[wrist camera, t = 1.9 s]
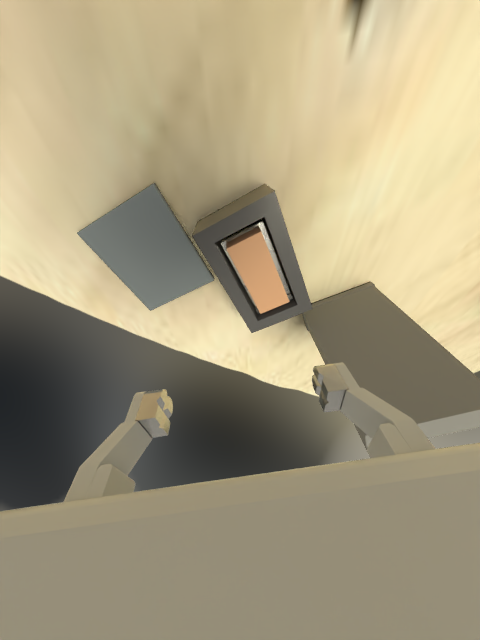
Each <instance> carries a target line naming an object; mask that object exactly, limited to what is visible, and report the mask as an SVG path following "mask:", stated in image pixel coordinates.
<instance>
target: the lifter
mask: <svg viewBox="0 0 480 640" xmlns="http://www.w3.org/2000/svg"><path fill="white" fill-rule="evenodd" d="M258 226H259V227H260V230H261V232H262V234H263V237H264V239H265V242H266V244H267V247H268V249H269V252H270V254H271V257H272V259H273V262H274V264H275V267H276V269H277V272H278V274H279V277H280V279H281V282H282V284H283V287H284V289H285V292H286V294H288V295H287V297H288V299H289V300H291V299H293V298H292V296H291V294H289V293H290V291H289V288H288V286H287V283H286V281H285V278H284V275H283V273H282V270H281V268H280V265H279V262H278V260H277V257H276V255H275V252H274V249H273V247H272V244H271V242H270V239H269V236H268V234H267V231H266V229H265V226H264V223H263V221H262V220H261V221H259V222H257V223H255V224H253V225H251V226H249V227H247V228H245V229H244V230H242V231H240V232H238V233H236V234H234V235H232V236H230V237H228V238H226V239H224V240H222V241H221V245H222V247H223V249H224V250H225V252H226V254H227V256H228V258H229V260H230V261H231V263H232V265H233V267H234V269H235V271H236V273H237V274H238V276H239V278H240V280H241V282H242V284H243V286H244V287H245V289H246V291H247V293H248V295H249V297H250V299H251V300H252V302H253V304H254V306H255V308H256V307H257V306H256V304H255V302H254V300H253V299H252V297H251V295H250V293H249V291H248V289H247V287H246V285H245V284H244V282H243V280H242V278H241V276H240V274H239V272H238V270H237V269H236V267H235V265H234V263H233V261H232V259H231V257H230V255H229V253H228V252H227V250H226V243H227V242H229V241H231V240H233V239H235V238H237V237H239V236H240V235H242V234H244V233H246V232H248V231H250V230H252V229H254V228H256V227H258ZM256 312H257V313H260V312H259V310H258V308H256Z"/></svg>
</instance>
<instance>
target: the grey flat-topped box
mask: <svg viewBox="0 0 480 640" xmlns="http://www.w3.org/2000/svg"><path fill="white" fill-rule="evenodd" d="M311 305H312V308H313V309H312V310H309V311H307V312H304V313H302V315H303V318H304V321H305V324H306V328H307V330H308V331H309V332H310V334H311V336H312V338H313V340H314V342H315V344H316V346H317V348H318V350H319V352H320V354H321V356H322V359H323V361H324V363H325V365H326V364H334V363H341V362H343V363H344V364H345V365H346V367H347V368H348V370H349V371H350V373H351V375H352V376H353V378H354V379H355V381H356V382H357V384H358V386H359V387H360V388H364V389H366V390H368V391H369V392H371V393H372V394H374V395H376V396H377V397H379V398H380V399H382V400H383V401H385V402H387V403H388V404H390V405H391V406H393V407H395V408H396V409H398V410H399V411H401V412H403V413H404V414H406V415H407V416H409V417H411V418H412V419H413V420H414V421H415V422H416V424H417V425H418V426H419V428H420V429H421V430H422V432H423V433H424V434H425V436H426V437H427V438H432V437H437V436H441V435H446V434H451V433H455V432H460V431H464V430H469V429H474V428H479V427H480V379H479V378H478V377H477V376H476V375H474V374H473V373H472V372H471V371H470V370H469V369H468V368H467V367H465V366H464V365H463V364H462V363H461V362H460V361H459V360H457V359H456V358H455V357H454V356H453V355H452V354H451V353H450V352H448V351H447V350H446V349H445V348H444V347H443V346H442V345H440V344H439V343H438V342H437V341H436V340H435V339H434V338H433V337H431V336H430V335H429V334H428V333H427V332H426V331H425V330H423V329H422V328H421V327H420V326H419V325H418V324H417V323H415V322H414V321H413V320H412V319H411V318H410V317H409V316H408V315H406V314H405V313H404V312H403V311H402V310H401V309H400V308H398V307H397V306H396V305H395V304H394V303H393V302H392V301H391V300H389V299H388V298H387V297H386V296H385V295H384V294H383V293H381V292H380V291H379V290H378V289H377V288H376V287H375V285H374V284H373V283H372V282H370V283H366V284H364V285H362V286H359V287H356V288H354V289H351V290H348V291H345V292H343V293H340V294H337V295H335V296H332V297H329V298H327V299H324V300H321V301H318V302H316V303H313V304H311ZM354 425H355V424H354ZM355 427H356V429H357V431H358V433H359V435H360V437H361V439H362V441H363V443H364V445H365V448H366V450H367V448H368V446H369V444H370V442H371V441H372V439H371V438H370V437H369V436H368V435H366V434H365V433H364V432H363V431H362V430H361V429H360V428H359V427H357V426H356V425H355Z"/></svg>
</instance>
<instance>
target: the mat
mask: <svg viewBox="0 0 480 640" xmlns="http://www.w3.org/2000/svg"><path fill="white" fill-rule="evenodd" d="M77 234H78V235H79V236H80V237H81V238H82V239H83V240H84V241H85V243H86V244H87V245H88V246H89V247H90V248H91V249H92V250H93V251H94V252H95V253H96V254H97V255H98V256H99V257H100V258H101V259H102V260H103V261H104V262H105V264H106V265H107V266H108V267H109V268H110V269H111V270H112V271H113V272H114V273H115V274H116V275H117V276H118V277H119V278H120V279H121V280H122V281H123V282H124V284H125V285H126V286H127V287H128V288H129V289H130V290H131V291H132V292H133V293H134V294H135V295H136V296H137V297H138V298H139V299H140V300H141V301H142V302H143V304H144V305H145V306H146V307H147V308H148V309H149V310H150V311H151V310H153V309H155V308H157V307H159V306H161V305H163V304H166V303H168V302H170V301H172V300H174V299H176V298H178V297H180V296H182V295H184V294H187V293H189V292H191V291H193V290H195V289H197V288H199V287H201V286H203V285H205V284H207V283H210V282H212V281H214V277H213V275H212V274H211V272H210V271H209V269H208V267H207V266H206V264H205V263H204V261H203V259H202V258H201V256H200V255H199V253H198V251H197V250H196V248H195V247H194V245H193V243H192V242H191V240H190V239H189V237H188V235H187V234H186V232H185V231H184V229H183V227H182V226H181V224H180V223H179V221H178V220H177V218H176V216H175V215H174V213H173V212H172V210H171V208H170V207H169V205H168V204H167V202H166V200H165V199H164V197H163V196H162V194H161V192H160V191H159V189H158V188H157V186H156V184H155V183H154V184H152V185H150V186H149V187H147V188H146V189H144V190H143V191H141V192H139V193H138V194H136V195H135V196H133V197H132V198H130V199H129V200H127V201H126V202H124V203H122V204H121V205H119V206H118V207H116V208H115V209H113V210H112V211H110V212H109V213H107V214H105V215H104V216H102V217H101V218H99V219H98V220H96V221H95V222H93V223H91V224H90V225H88V226H87V227H85V228H84V229H82V230H81V231H79V232H78V233H77Z"/></svg>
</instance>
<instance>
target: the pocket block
mask: <svg viewBox="0 0 480 640" xmlns="http://www.w3.org/2000/svg"><path fill="white" fill-rule="evenodd" d="M261 218H262V219H263V221H264V224H265V227H266V229H267V232H268V234H269V237H270V240H271V242H272V245H273V248H274V250H275V253H276V255H277V258H278V261H279V263H280V266H281V268H282V271H283V274H284V276H285V279H286V282H287V286H288V288H289V291H290V293H289V294H291V296H292V298H293V299H291V300H289V302H288V303H286V304H283V305H281V306H278V307H276V308H274V309H271V310H269V311H266V312H264V313H262V314H260V313H257V312H256V308H257V307H256V308H255V306H254V304H253V302H252V300H251V299H250V297H249V295H248V293H247V291H246V289H245V287H244V286H243V284H242V282H241V280H240V278H239V276H238V274H237V273H236V271H235V269H234V267H233V265H232V263H231V261H230V260H229V258H228V256H227V254H226V252H225V250H224V249H223V247H222V245H221V241H222V239H223V238H225V237H227V236H229V235H231V234H233V233H235V232H236V231H238V230H240V229H242V228H244V227H246V226H248V225H250V224H252V223H254V222H256V221H257V220H259V219H261ZM192 236H193V238H194V240H195V241H196V243H197V245H198V246H199V248H200V249H201V251H202V253H203V254H204V256H205V258H206V259H207V261H208V263H209V264H210V266H211V267H212V269H213V271H214V272H215V274H216V276H217V277H218V279H219V280H220V282H221V284H222V285H223V287H224V289H225V290H226V292H227V294H228V295H229V297H230V298H231V300H232V302H233V303H234V305H235V307H236V308H237V310H238V312H239V313H240V315H241V316H242V318H243V320H244V321H245V323H246V325H247V326H248V328H249V329H250V331H251V333H253V332H256V331H259V330H261V329H264V328H266V327H269V326H271V325H274V324H276V323H279V322H281V321H284V320H286V319H289V318H291V317H294V316H297V315H299V314H302V313H304V312H307V311H309V310H312V309H313V308H312V305H311V302H310V299H309V296H308V293H307V290H306V287H305V284H304V281H303V277H302V274H301V271H300V268H299V265H298V262H297V259H296V256H295V253H294V250H293V246H292V243H291V240H290V237H289V234H288V231H287V228H286V225H285V222H284V218H283V215H282V212H281V209H280V206H279V203H278V200H277V197H276V194H275V191H274V190H273V189H271V188H270V187H269V186H267V185H266V184H264V185H262V186H260V187H259V188H257V189H255V190H253V191H252V192H250V193H248V194H246V195H244V196H243V197H241V198H239V199H237V200H236V201H234V202H232V203H230V204H228V205H227V206H225V207H223V208H221V209H219V210H218V211H216V212H214V213H212V214H211V215H209V216H207V217H205V218H203V219H202V220H200V221H198V222H197V225H196V227H195V230H194V233H193V235H192ZM287 295H288V294H287Z"/></svg>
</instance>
